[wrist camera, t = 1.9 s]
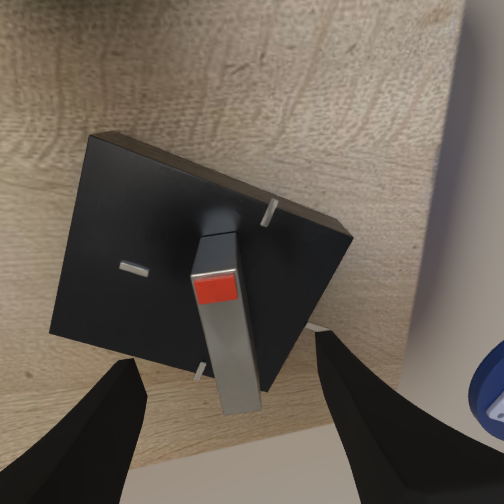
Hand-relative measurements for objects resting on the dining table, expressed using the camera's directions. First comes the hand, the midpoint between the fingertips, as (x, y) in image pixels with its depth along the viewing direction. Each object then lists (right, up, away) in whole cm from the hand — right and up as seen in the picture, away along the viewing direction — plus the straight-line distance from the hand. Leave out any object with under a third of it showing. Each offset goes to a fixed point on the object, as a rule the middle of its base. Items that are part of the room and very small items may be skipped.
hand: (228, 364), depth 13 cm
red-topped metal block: (0, +2, +4) cm, 5 cm away
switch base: (-2, +4, +7) cm, 8 cm away
